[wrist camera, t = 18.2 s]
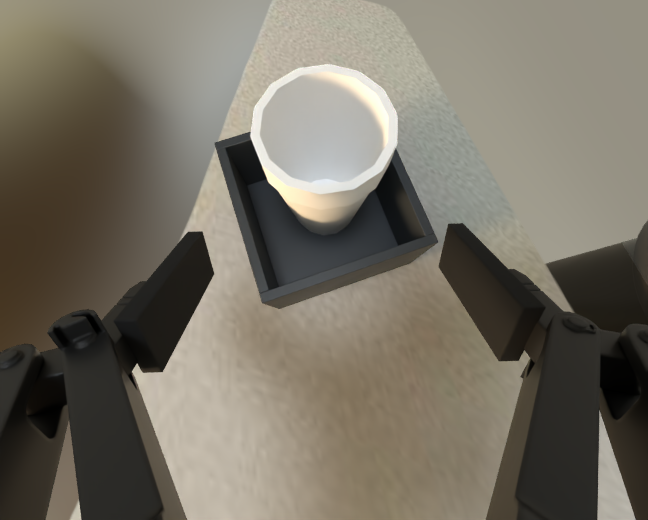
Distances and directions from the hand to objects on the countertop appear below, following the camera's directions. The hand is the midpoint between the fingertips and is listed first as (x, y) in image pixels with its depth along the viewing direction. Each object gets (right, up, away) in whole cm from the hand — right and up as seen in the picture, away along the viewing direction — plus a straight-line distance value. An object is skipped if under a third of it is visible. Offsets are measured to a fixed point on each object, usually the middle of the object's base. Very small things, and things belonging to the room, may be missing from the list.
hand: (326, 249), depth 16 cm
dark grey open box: (0, +3, +16) cm, 16 cm away
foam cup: (0, +5, +15) cm, 16 cm away
